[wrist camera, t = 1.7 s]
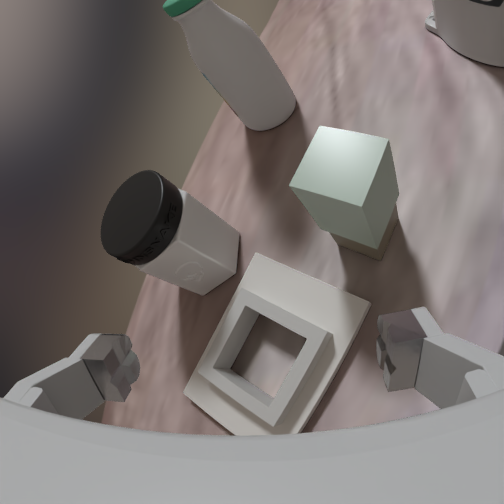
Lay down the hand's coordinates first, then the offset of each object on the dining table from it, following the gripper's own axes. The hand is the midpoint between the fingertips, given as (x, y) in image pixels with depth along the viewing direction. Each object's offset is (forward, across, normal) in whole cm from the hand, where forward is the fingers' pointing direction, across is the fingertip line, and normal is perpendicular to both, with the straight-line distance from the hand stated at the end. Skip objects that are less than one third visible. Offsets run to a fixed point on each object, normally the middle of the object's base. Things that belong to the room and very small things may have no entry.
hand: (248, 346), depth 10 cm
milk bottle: (+35, -1, -10) cm, 37 cm away
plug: (+20, -8, +3) cm, 21 cm away
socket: (+15, +2, +12) cm, 20 cm away
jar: (+25, +8, +6) cm, 26 cm away
